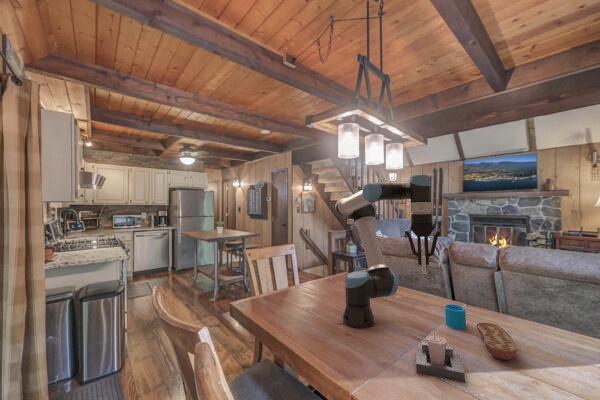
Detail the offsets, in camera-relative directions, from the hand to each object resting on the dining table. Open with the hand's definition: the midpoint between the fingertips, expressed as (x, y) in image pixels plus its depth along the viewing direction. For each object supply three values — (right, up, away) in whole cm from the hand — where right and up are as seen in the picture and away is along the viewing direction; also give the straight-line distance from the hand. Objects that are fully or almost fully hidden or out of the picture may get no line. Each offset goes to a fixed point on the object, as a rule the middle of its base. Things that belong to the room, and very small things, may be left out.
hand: (424, 273), depth 101 cm
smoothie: (-1, -29, -13) cm, 32 cm away
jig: (-1, -29, -13) cm, 32 cm away
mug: (+24, -30, +19) cm, 43 cm away
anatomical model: (+27, -29, -2) cm, 40 cm away
